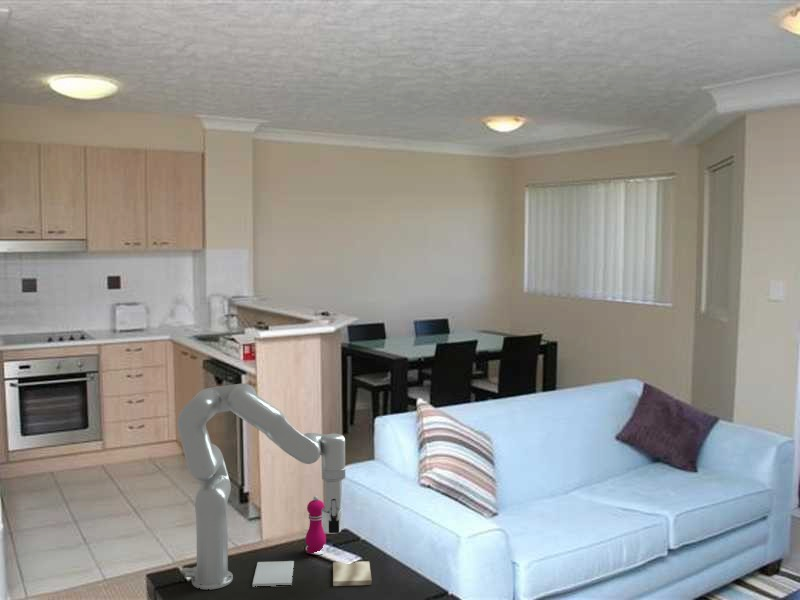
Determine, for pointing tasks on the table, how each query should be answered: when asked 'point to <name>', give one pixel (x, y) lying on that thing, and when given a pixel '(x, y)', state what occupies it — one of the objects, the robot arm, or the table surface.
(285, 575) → the grey tile
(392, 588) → the table surface
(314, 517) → the pepper mill
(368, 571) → the birch board
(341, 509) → the shot glass
